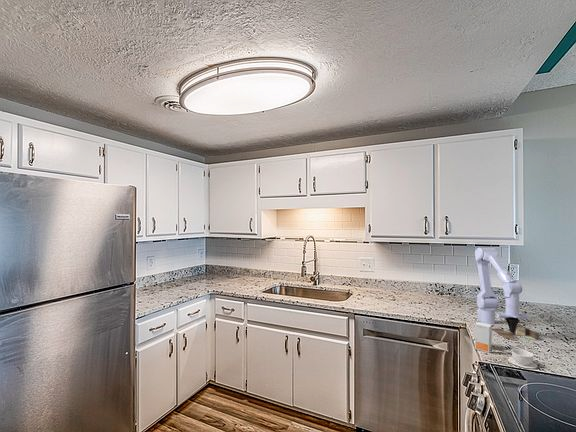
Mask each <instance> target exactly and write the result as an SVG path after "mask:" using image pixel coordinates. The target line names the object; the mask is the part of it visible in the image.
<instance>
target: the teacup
mask: <svg viewBox="0 0 576 432" xmlns="http://www.w3.org/2000/svg"><path fill="white" fill-rule="evenodd" d="M511 355H512V357H511V356H510V357H509V358H507V361H508V362H509V363H511V364H513V365H515V366H517V367H520V368H524V369H537V368H538V365H537V364H536V363H535V362H534V353H532V352H530V351H528V350H524V349H518V348H517V349H516V348H514V349H511Z"/></svg>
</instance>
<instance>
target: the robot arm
mask: <svg viewBox="0 0 576 432" xmlns="http://www.w3.org/2000/svg"><path fill="white" fill-rule="evenodd" d="M474 255H475V257H474V258H475V262H476V266H477V271H478V272H477V273H478V279H479V286H480V292H479V293H478V294H476V305H477V307H478V308H477V309H476V320H475V321H476V322H479V321H480V323H486V324H490V325H495V324H496V318H497V319H504V320H505V321H506V323H507V325H508V329H509V332H512V333H514V331H515V328H516V326H517V325H518V324H520V321H521V319H526V320H528V319H529V315H528V314H526V313H520V295H521V293H522V292H523V286H522V284H521V283H520V282H518V281H517V280H515V279H514V277H513V275H512V274H511V273H510V271H509V270H508V269H507V270H506V269H505V267H504V265H503V264H502V262H501V260H500V258H499V252H498V250H497V248H495V247H477V248H476V249H475V251H474ZM490 263H491V264H492V266H493V267H494V269H495V270H496V271H497V274H496V275H497V278H498V279H499V280H500V282H501V284H502V290H503V294H504V297H505V308H504V309H505V311H504V312H500V313H499V312H497V313H496V311H497V309H498V308H499V307H500V301H499V299H498V296H497V294H495V293H494V292H493V290H492V284H491V277H490V276H491V275H490V271H489V264H490Z"/></svg>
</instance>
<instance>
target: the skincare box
mask: <svg viewBox="0 0 576 432" xmlns="http://www.w3.org/2000/svg"><path fill="white" fill-rule="evenodd" d="M492 329H493V324H486V323H482V322H481V321H480V322H479V321H476V323H475V324H474V350H477V351H481V352H485V353H487V354H490V352H491V351H492V341H493V340H492V338H493V337H492V336H493V335H492V334H493V333H492V332H493V330H492Z"/></svg>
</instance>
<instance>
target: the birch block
mask: <svg viewBox="0 0 576 432" xmlns="http://www.w3.org/2000/svg"><path fill="white" fill-rule="evenodd" d="M521 325H522V324H520V325H518V324H517V326H516V328H515V331H514V334H516V335H521V336H520V337H524V336H525V328H524V327H525V326H524V327H522V326H523V325H522V326H521Z"/></svg>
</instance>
